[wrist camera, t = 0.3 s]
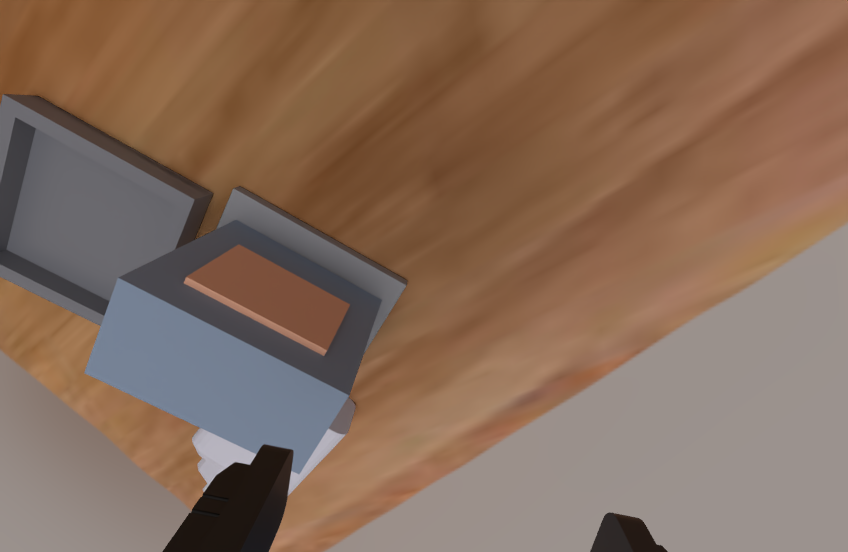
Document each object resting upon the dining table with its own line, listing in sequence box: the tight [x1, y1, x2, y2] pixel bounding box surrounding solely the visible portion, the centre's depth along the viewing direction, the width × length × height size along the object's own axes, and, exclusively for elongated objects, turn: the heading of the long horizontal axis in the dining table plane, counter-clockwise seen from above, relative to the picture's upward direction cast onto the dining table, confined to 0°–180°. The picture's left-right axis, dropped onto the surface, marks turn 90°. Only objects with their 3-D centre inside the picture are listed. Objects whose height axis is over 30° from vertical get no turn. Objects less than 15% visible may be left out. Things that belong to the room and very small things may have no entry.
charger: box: [192, 398, 355, 495], centre depth 37 cm, size 5×9×15 cm
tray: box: [0, 94, 213, 326], centre depth 32 cm, size 13×13×2 cm
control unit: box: [85, 186, 407, 474], centre depth 28 cm, size 10×14×13 cm
